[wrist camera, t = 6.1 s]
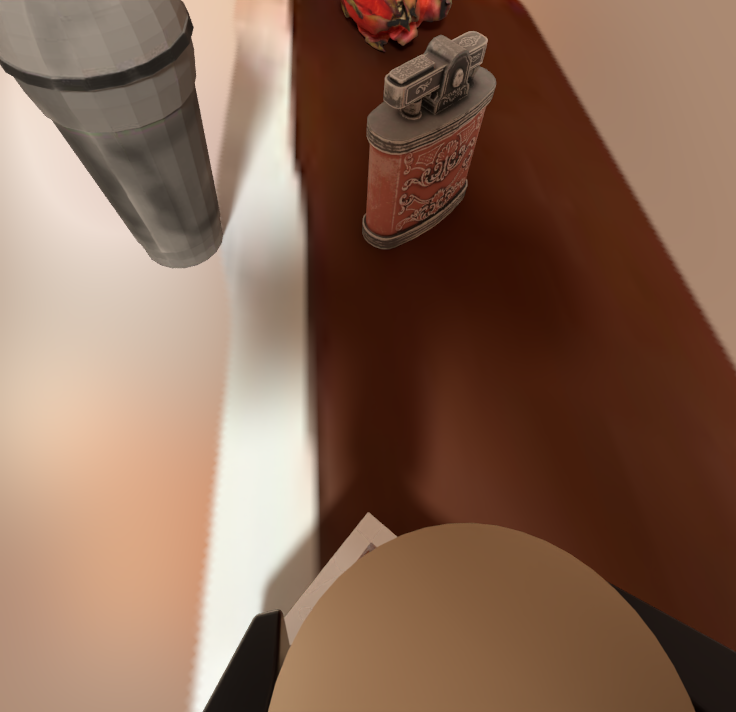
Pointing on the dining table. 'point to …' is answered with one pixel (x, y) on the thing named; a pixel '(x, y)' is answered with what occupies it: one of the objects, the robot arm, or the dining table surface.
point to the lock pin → (475, 633)
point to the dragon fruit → (393, 18)
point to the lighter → (425, 139)
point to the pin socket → (337, 568)
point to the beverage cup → (124, 110)
